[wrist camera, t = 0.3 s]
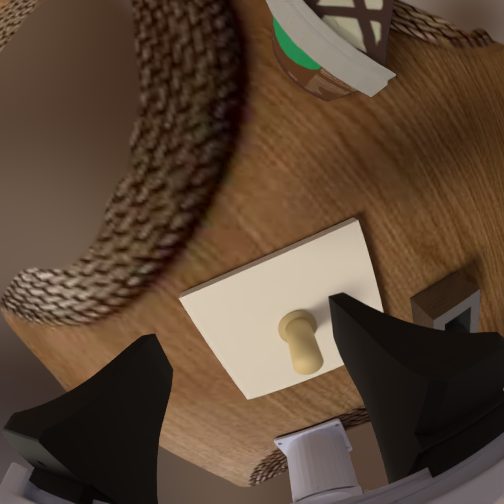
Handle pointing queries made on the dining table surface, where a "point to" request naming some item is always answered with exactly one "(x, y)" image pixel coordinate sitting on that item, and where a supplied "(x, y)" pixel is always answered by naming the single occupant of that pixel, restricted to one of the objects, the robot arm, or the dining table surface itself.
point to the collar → (448, 305)
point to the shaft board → (283, 309)
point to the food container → (333, 44)
